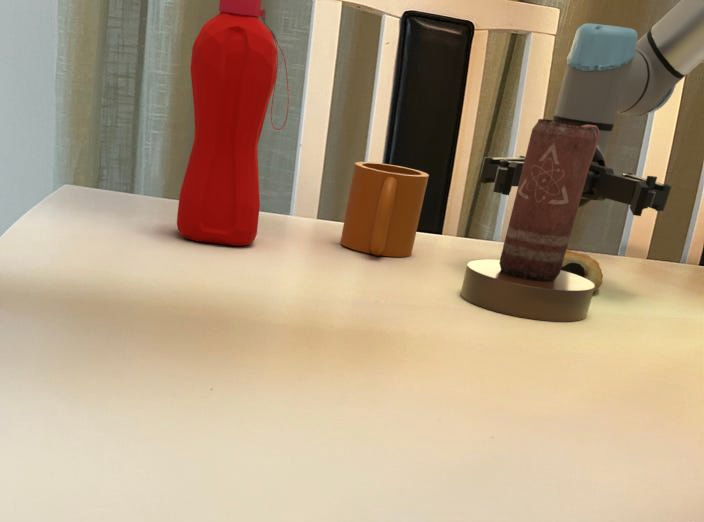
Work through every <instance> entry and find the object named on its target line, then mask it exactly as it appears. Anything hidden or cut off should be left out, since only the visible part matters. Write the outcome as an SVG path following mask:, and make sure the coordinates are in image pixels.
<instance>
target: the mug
mask: <svg viewBox="0 0 704 522" xmlns="http://www.w3.org/2000/svg"><path fill="white" fill-rule="evenodd" d="M429 177H430V175H429V174H428V173H427V172H424V171H421V170H419V169H414V168H411V167H410V168H409V167H405V166H402V165H401V166H400V165H396V164H395V165H394V164H388V163H383V162H373V161H372V162H371V161H357V162H356V161H355V162H354V166H353V171H352V176H351V183H350V188H349V194H348V199H347V204H346V210H345V214H344V215H345V216H344V220H343V226H342V230H341V231H342V232H341V238H340V244H341V245H342V246H344V247H346V248H349V249H351V250H355V251H356V252H357V251H358V252H361V253H365V254H371V255H374V256H376V257H377V256H378V257H379V256H384V257H394V258H404V257H405V258H406V257H410V256H412V254H413V249H414V244H415V240H416V235H417V230H418V227H419V222H420V217H421V213H422V208H423V203H424V199H425V193H426V190H427V185H428V180H429Z"/></svg>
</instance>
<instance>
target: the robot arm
mask: <svg viewBox="0 0 704 522" xmlns="http://www.w3.org/2000/svg"><path fill="white" fill-rule="evenodd" d="M638 38H639V35H638V32H637V31H636V30H635V29H634V28H630V27H625V26H616V25H609V24H601V23H590V22H589V23H583V24H581V25H580V26H579V27H578V28H577V29H576V32H575V35H574V37H573V41H572V44H571V47H570V51H569V53H568V55H567V56H566V65H565V69H564V72H563V73H564V74H563V78H562V82H561V86H560V88H559V89H560V90H559V93H558V98H557V102H556V106H555V110H554V114H553V119H552V120H556V121H563V122H570V123H577V124H583V125H594V126H597V127H598V129H599V138H598V142H597V146H596V151H595V154H594V156H593V159H592V162H591V164H590V167H589V171H588V174H587V178H586V181H585V185H584V189H583V192H582V196H581V199H580V203H579V206H578V209H579V208H581V207H584V206H586V205H587V204H589V203H590V202H591V201H599V202H600V201H601V202H604V201H606V199H607V200H611V201H614V202H617V203H622V204H625V205H628V206H629V210H630V212H631V213H632V215H633V216H636V217H641V216H642V213H643V211H644V210H645V209H648V208H649V209H652V210H655V211H656V212H663V211H665V208H666V205H667V202H668V199H669V196H670V193H671V189H672V186H671V185H669V184H668V183H661V182H657V179H658V176H654V175H646V178H645V177H641V176H638V175H637V174H634V172H625V173H621V175H619V174H615V172H614V169H613V168H611V167H607V165H606V160H605V156H606V153H607V149H608V147H609V142H610V139H611V135H612V132H613V128H614V125H615V121H616V118H617V115H623V116H627V117H643V116H645V115H649V114H652V113H654V112H656V111H658V110H659V109H661V108H662V107H664V106H665V105H666V103H667V102H669V100H670V98H671V97H672V95H673V93H674V90H675V88H676V85H677V84H678V83H679V82H680V81H681V80H682V79H683V78H685V77H686V76H687V75H688V74H690V73H691V72H692V71H693V70H694V69H695V68H696V67H697V66H699V65H700V64H701V63H702V62H703V61H704V0H679V1H678V2H677V4H675V5H674V6H673V7H672V8H671V9H670V10H669V11H668V12H667V13H666V14H665V15H664V16H663V17H661V18H660V20H659V19H658V21H657V22H656V23H655V24H654V25H653V26H652V27H651V28H650V29H649V30H648V31H647V32H646V33H644V34H643V35H642V37H640V38H639V39H638ZM525 157H526V156H524V155H519V156H515V157H511V156H510V157H492V156H486V157H484V159H483V163H482V166H481V167H482V168H481V173H480V176H479V182H480V183H481V184H485V185H486V184H488V183H489V184H490V183H491V184H492V183H493V184H494V187H493V190H492V192H493V193H497V194H501V195H504V196H510V193H511V190H512V187H518V185H519V181H520V177H521V173H522V169H523V165H524V161H525Z"/></svg>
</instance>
